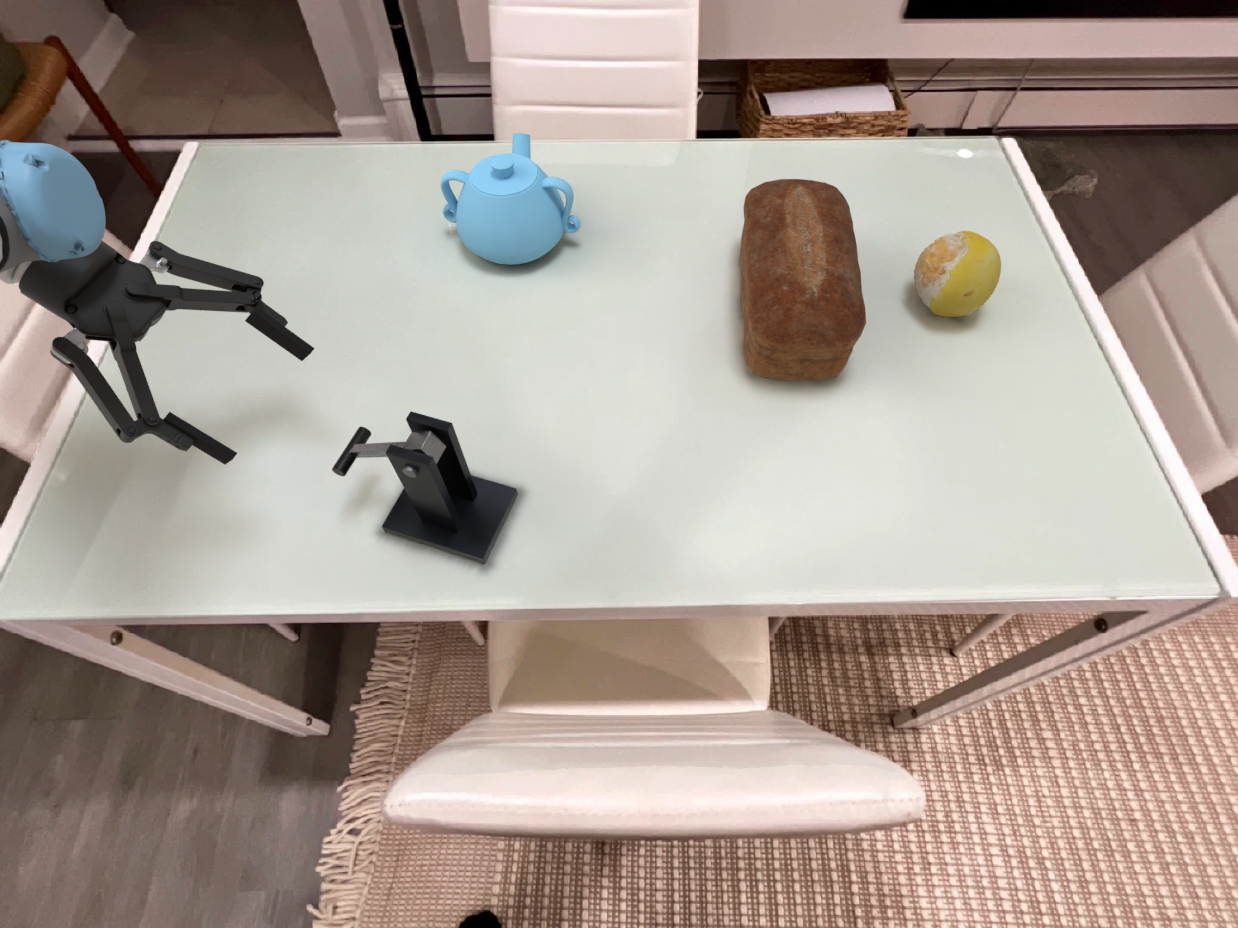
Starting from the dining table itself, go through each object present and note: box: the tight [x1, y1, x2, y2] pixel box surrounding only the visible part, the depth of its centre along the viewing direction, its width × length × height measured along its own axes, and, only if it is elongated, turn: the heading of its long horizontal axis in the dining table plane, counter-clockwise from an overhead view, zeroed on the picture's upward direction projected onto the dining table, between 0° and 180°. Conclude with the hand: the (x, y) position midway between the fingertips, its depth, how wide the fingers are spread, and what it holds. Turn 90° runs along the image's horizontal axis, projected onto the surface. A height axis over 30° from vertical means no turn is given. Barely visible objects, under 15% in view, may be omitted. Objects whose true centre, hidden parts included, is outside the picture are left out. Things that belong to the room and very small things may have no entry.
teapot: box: [440, 132, 582, 266], centre depth 98 cm, size 20×20×13 cm
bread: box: [739, 178, 867, 382], centre depth 89 cm, size 14×28×12 cm, turn 176°
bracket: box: [381, 411, 519, 564], centre depth 72 cm, size 12×9×15 cm
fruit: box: [913, 230, 1002, 318], centre depth 90 cm, size 10×11×10 cm
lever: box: [331, 426, 446, 477], centre depth 70 cm, size 13×6×2 cm, turn 71°
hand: (272, 404), depth 70 cm, fingers open, 13 cm apart
